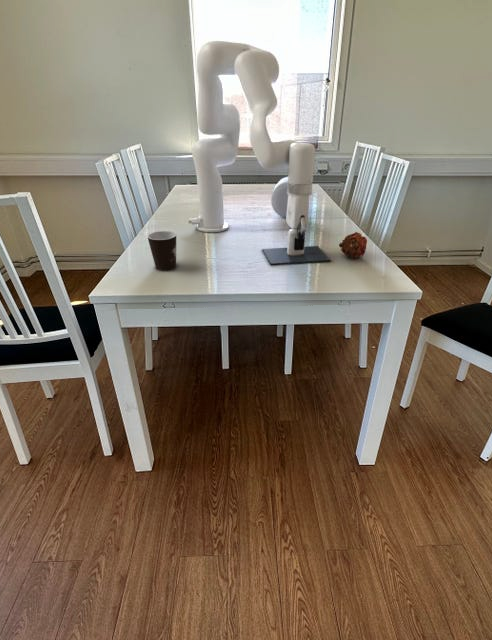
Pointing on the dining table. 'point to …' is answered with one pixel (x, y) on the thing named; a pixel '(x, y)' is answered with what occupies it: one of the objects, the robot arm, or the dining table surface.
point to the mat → (281, 257)
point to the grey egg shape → (280, 197)
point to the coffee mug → (163, 249)
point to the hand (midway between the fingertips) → (296, 245)
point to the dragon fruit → (354, 245)
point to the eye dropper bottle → (291, 243)
